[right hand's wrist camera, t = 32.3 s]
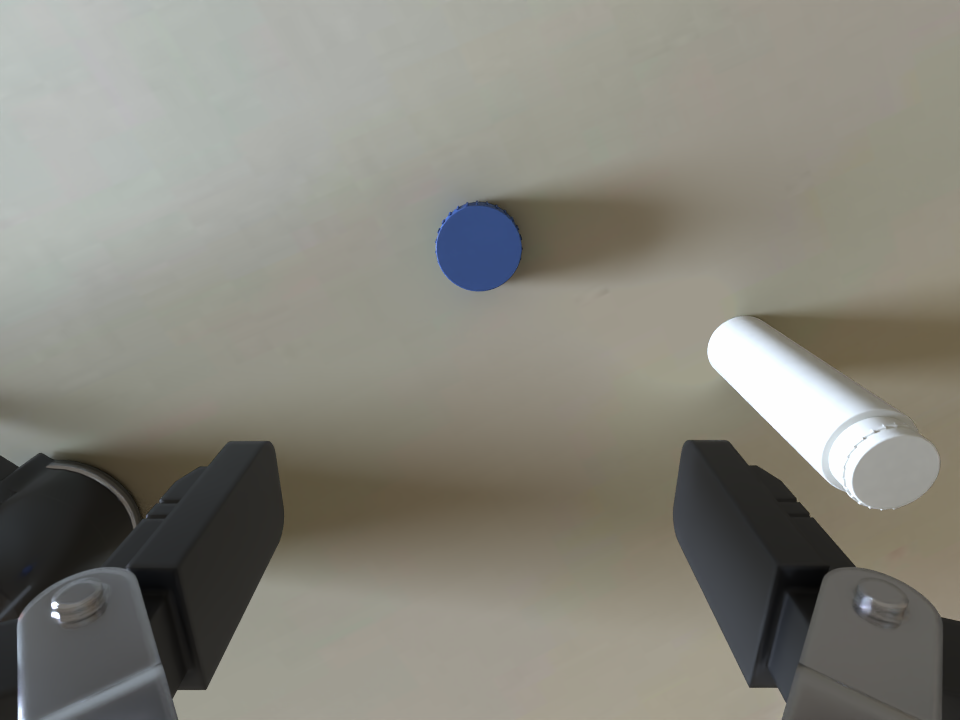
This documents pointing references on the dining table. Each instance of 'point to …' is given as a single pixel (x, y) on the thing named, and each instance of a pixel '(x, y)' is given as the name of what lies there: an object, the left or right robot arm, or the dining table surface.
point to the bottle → (826, 415)
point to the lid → (478, 246)
